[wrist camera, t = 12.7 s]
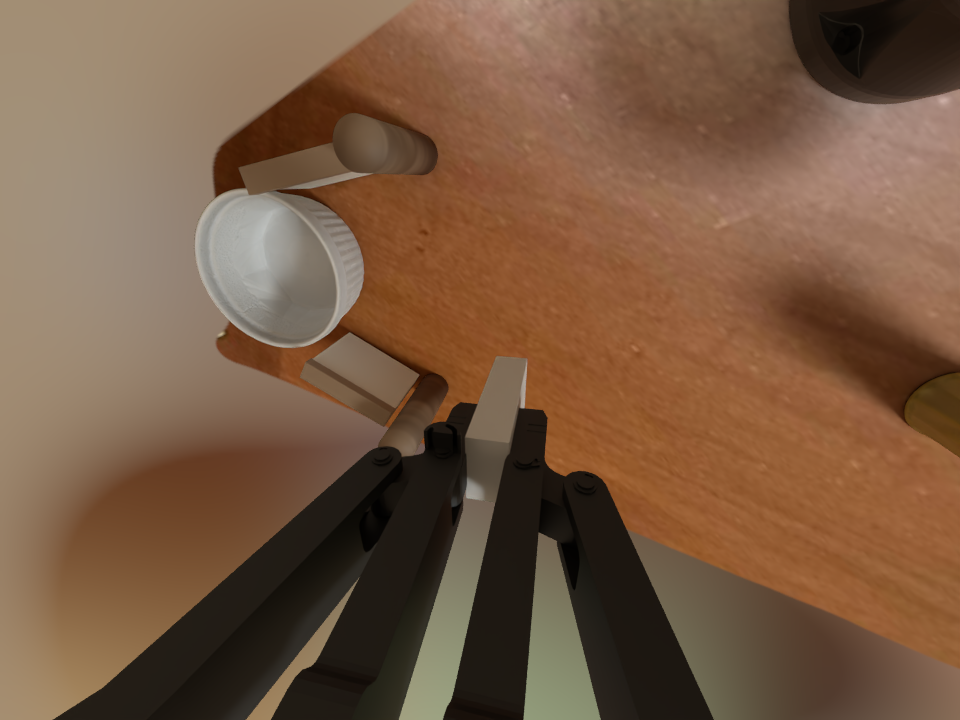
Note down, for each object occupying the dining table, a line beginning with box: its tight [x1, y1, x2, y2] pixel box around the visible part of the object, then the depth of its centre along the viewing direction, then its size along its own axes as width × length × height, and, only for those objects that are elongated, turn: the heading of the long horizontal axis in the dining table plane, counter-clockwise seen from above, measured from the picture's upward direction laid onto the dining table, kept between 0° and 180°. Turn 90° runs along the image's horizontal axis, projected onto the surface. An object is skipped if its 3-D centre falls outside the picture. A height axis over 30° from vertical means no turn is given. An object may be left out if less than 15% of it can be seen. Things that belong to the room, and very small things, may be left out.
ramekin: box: [194, 188, 364, 348], centre depth 34 cm, size 13×13×7 cm
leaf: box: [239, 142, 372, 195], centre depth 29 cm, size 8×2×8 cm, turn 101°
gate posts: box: [333, 113, 448, 457], centre depth 31 cm, size 25×3×11 cm, turn 0°
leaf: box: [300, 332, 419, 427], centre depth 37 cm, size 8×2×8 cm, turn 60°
